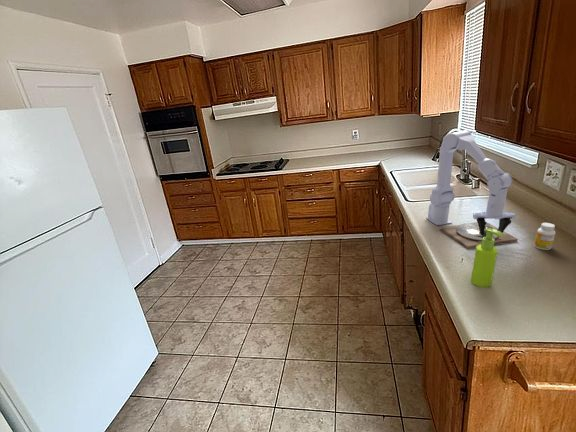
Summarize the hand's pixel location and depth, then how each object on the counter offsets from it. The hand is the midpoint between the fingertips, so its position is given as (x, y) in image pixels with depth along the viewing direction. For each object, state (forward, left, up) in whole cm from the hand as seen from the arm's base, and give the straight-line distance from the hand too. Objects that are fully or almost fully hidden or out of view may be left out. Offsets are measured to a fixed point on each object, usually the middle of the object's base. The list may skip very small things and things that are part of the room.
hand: (490, 234), depth 125 cm
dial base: (-6, -1, -3) cm, 7 cm away
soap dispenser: (+25, -22, -4) cm, 33 cm away
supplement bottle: (+10, +15, -4) cm, 18 cm away
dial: (-6, -1, -2) cm, 7 cm away
